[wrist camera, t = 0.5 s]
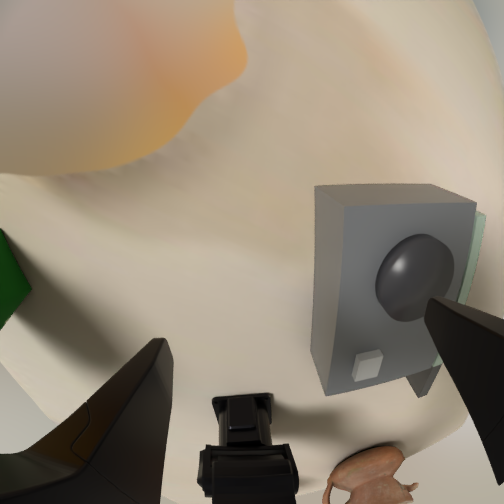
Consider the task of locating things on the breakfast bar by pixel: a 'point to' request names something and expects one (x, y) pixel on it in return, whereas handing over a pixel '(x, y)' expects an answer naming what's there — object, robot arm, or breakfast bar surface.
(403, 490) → the ceramic jug
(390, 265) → the camera case
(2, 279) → the milk carton
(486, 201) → the breakfast bar surface
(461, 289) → the side door
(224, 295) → the breakfast bar surface
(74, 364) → the breakfast bar surface
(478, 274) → the breakfast bar surface
